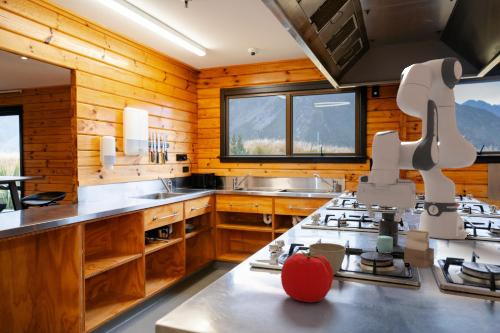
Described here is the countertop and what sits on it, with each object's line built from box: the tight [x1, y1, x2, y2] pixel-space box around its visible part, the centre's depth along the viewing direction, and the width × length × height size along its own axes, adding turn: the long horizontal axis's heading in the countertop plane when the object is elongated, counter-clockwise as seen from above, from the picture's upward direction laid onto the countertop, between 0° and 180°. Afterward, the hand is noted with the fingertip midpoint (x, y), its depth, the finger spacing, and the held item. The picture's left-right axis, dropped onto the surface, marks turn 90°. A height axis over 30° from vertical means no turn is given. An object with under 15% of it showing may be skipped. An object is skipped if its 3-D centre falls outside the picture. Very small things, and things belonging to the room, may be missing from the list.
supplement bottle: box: [378, 210, 400, 247], centre depth 130 cm, size 7×7×12 cm
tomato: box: [280, 250, 334, 303], centre depth 79 cm, size 12×12×10 cm
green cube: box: [376, 235, 394, 253], centre depth 119 cm, size 5×5×5 cm
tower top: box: [406, 228, 430, 251], centre depth 105 cm, size 5×5×5 cm
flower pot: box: [308, 242, 347, 276], centre depth 97 cm, size 10×10×7 cm
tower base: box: [403, 246, 435, 269], centre depth 105 cm, size 6×6×5 cm
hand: (384, 219), depth 119 cm, fingers open, 8 cm apart
